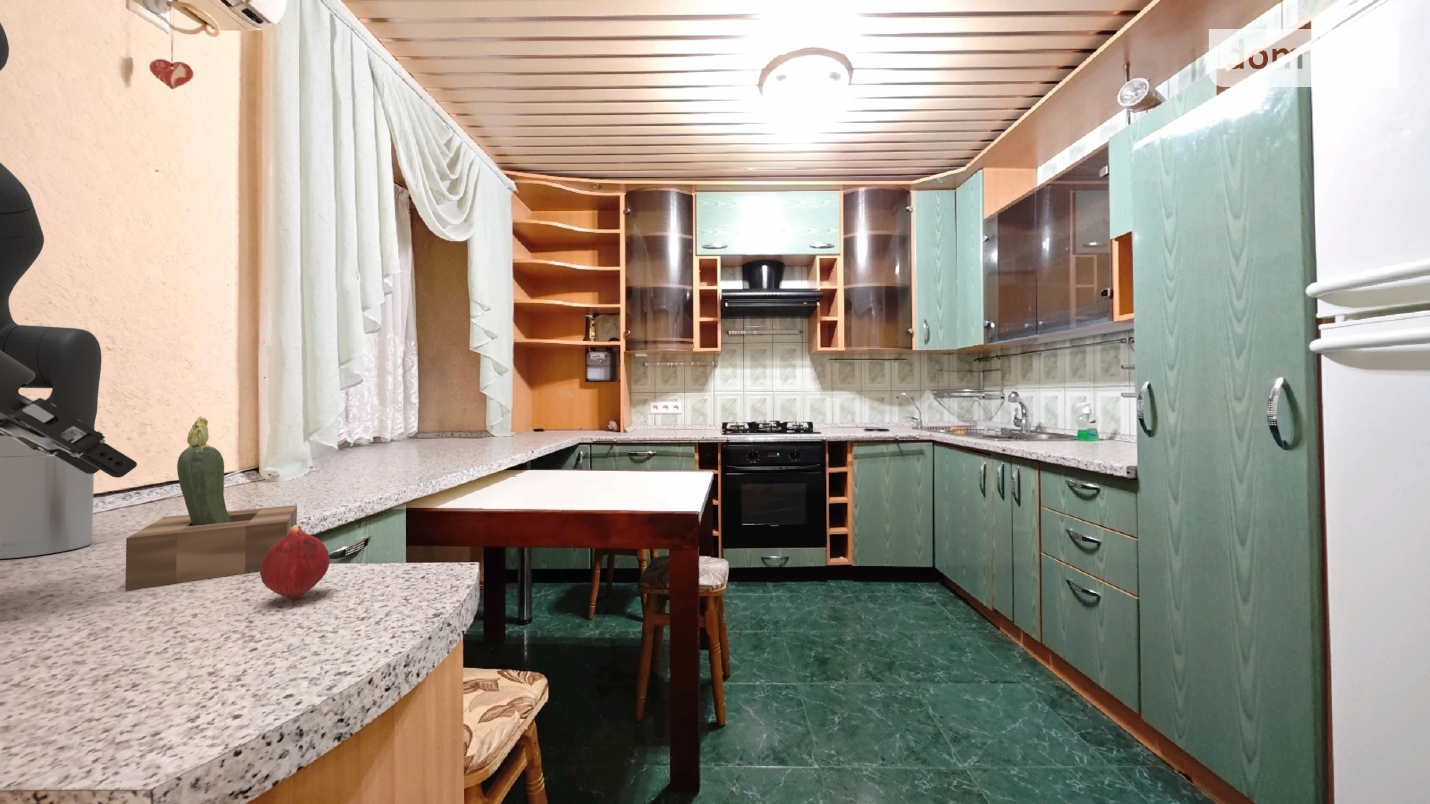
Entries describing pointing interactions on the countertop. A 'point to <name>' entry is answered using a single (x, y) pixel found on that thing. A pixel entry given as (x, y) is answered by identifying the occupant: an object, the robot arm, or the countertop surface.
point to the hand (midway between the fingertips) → (113, 469)
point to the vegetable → (202, 478)
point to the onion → (294, 564)
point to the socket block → (204, 546)
